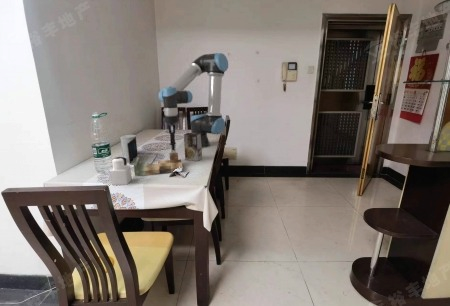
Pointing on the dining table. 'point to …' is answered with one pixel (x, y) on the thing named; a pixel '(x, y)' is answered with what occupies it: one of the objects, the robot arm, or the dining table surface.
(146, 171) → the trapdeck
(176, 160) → the block
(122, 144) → the grey mottled cylinder
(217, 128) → the robot arm
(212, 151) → the dining table surface
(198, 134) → the coffee box
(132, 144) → the laptop
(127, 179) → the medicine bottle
